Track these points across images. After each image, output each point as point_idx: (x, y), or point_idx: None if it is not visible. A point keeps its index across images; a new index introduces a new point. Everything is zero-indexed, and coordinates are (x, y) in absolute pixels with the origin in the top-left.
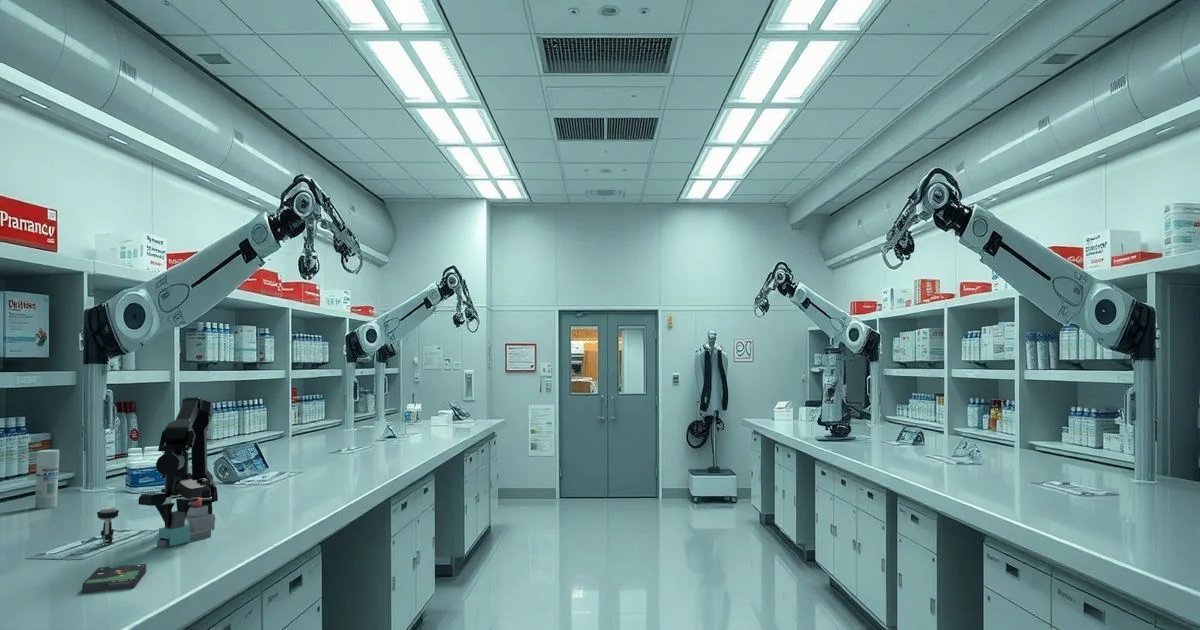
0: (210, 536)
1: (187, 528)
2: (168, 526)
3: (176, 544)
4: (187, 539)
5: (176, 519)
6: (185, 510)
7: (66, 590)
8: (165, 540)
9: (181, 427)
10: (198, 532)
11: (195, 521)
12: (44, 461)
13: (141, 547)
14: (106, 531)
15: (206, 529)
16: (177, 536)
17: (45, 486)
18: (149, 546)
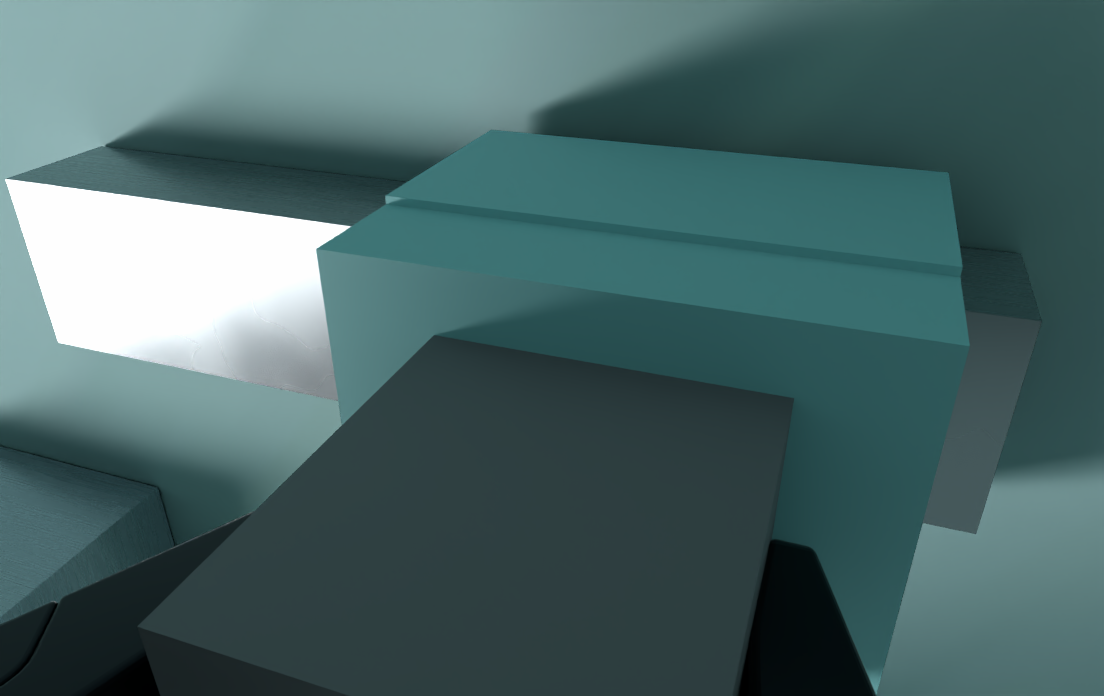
0: (101, 149)
1: (422, 239)
2: (818, 575)
3: (798, 162)
4: (527, 149)
5: (623, 554)
6: (54, 694)
7: None
8: (990, 337)
9: None
10: (206, 242)
11: (16, 596)
12: None
13: (1023, 663)
14: None
15: (4, 463)
16: (760, 213)
17: None
18: (925, 593)
